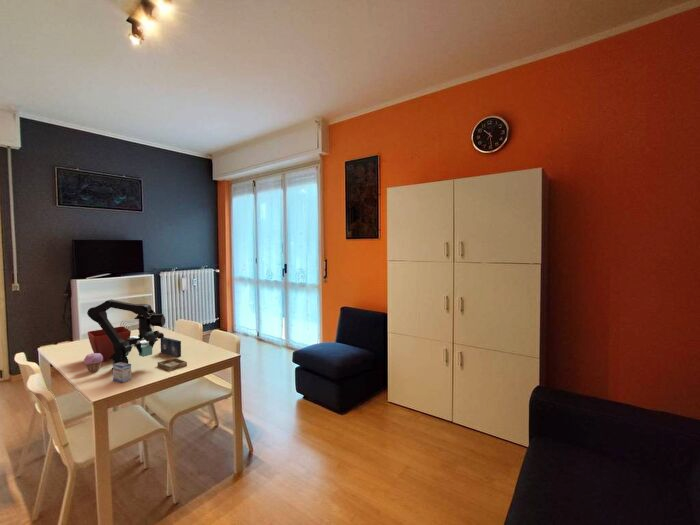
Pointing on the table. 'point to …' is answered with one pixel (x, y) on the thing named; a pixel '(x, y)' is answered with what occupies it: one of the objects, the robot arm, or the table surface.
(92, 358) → the cupcake
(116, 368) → the medicine box
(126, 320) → the file sorter
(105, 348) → the plant pot
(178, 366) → the tray
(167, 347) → the vhs cassette tape
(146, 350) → the cube
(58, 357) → the table surface
